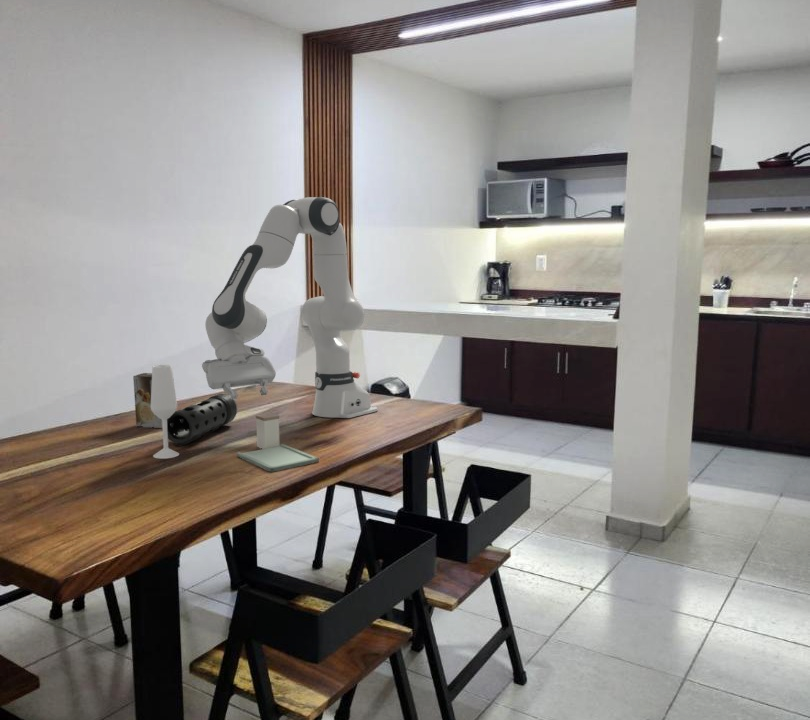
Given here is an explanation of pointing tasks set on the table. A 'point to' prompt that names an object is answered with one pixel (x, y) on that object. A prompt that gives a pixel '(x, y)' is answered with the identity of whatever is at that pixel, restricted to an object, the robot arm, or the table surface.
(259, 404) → the table surface
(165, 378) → the champagne flute
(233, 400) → the muzzle brake
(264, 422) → the canister
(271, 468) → the tray
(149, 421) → the coffee box
